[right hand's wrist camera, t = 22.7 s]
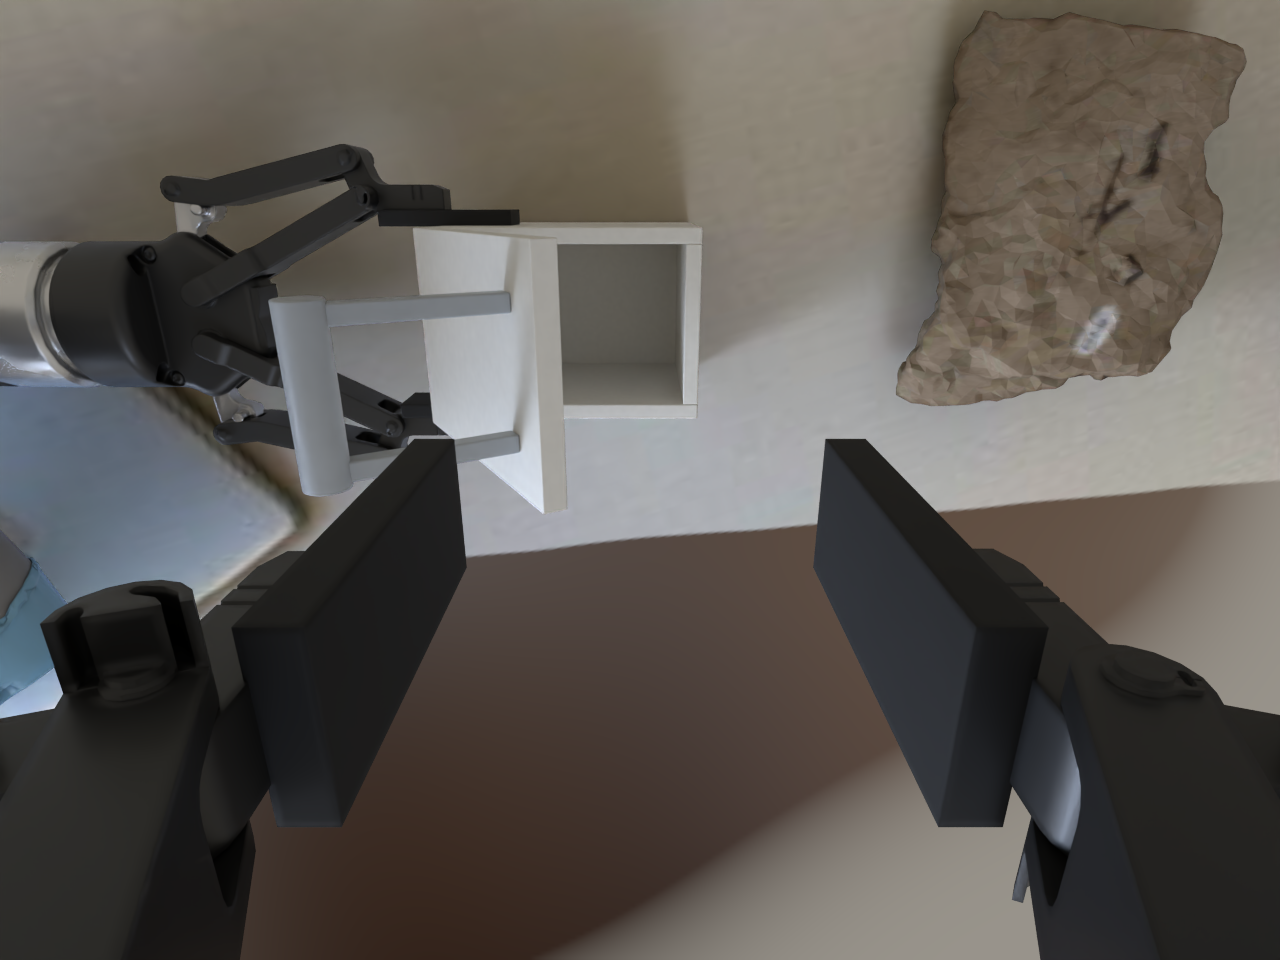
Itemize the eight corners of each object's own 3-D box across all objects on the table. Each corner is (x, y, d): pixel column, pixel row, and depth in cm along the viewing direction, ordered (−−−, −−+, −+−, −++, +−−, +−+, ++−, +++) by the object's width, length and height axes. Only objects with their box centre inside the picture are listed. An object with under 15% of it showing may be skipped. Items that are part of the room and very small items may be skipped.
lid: (557, 237, 22) (265, 244, 18) (568, 509, 25) (321, 565, 21) (432, 227, 33) (231, 230, 29) (451, 420, 36) (272, 446, 32)
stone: (1141, 425, 44) (1192, 436, 38) (888, 399, 47) (901, 406, 41) (1225, 47, 40) (1297, -4, 34) (943, 45, 43) (965, -2, 37)
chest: (689, 222, 43) (702, 226, 33) (685, 372, 46) (697, 418, 36) (477, 222, 43) (425, 227, 33) (488, 372, 46) (444, 418, 36)
